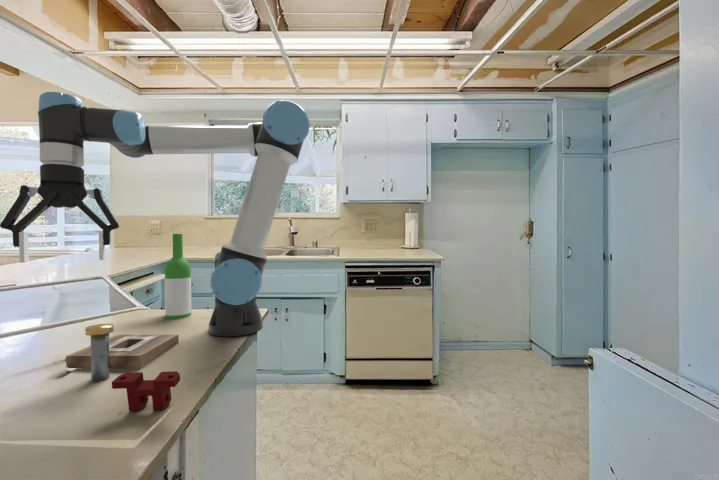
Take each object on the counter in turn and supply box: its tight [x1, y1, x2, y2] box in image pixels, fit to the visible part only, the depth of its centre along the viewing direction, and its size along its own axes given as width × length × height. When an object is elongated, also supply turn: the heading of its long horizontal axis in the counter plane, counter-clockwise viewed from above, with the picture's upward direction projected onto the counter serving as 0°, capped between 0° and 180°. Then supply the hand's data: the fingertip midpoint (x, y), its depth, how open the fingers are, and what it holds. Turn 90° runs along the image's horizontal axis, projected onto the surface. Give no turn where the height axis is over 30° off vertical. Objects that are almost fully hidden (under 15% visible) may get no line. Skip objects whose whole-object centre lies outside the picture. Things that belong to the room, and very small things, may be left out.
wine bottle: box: [164, 233, 192, 319], centre depth 116 cm, size 8×8×30 cm
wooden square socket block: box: [65, 333, 180, 370], centre depth 83 cm, size 16×16×4 cm
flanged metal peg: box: [84, 322, 115, 383], centre depth 70 cm, size 5×5×11 cm
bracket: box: [110, 370, 181, 412], centre depth 59 cm, size 3×6×10 cm
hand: (65, 261), depth 78 cm, fingers open, 13 cm apart
